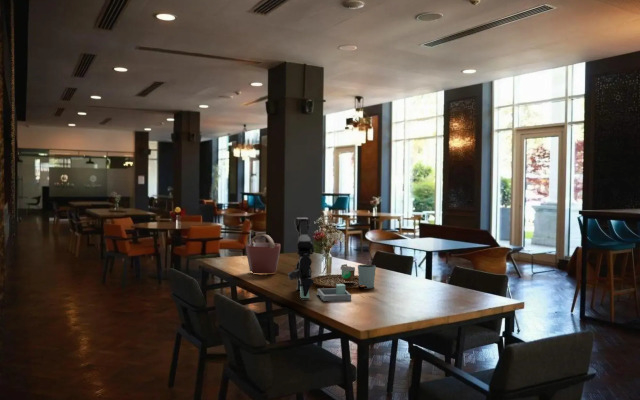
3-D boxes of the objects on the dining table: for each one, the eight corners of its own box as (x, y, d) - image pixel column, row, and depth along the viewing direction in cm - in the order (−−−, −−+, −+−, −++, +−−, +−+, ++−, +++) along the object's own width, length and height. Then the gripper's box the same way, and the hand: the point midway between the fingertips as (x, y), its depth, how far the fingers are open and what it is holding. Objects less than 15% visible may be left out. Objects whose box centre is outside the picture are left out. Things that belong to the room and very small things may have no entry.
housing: (317, 294, 268) (317, 282, 267) (343, 293, 270) (343, 281, 270) (323, 302, 251) (323, 288, 251) (351, 300, 253) (351, 287, 253)
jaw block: (300, 297, 260) (300, 285, 260) (307, 297, 261) (307, 285, 261) (301, 299, 257) (301, 287, 256) (309, 299, 257) (309, 287, 257)
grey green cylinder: (354, 287, 286) (354, 266, 286) (361, 284, 295) (362, 263, 295) (371, 289, 282) (371, 267, 281) (378, 286, 291) (378, 265, 290)
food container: (337, 281, 304) (337, 264, 304) (346, 280, 306) (346, 264, 306) (345, 285, 293) (345, 267, 292) (355, 284, 295) (355, 267, 295)
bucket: (242, 271, 339) (242, 233, 338) (274, 268, 348) (274, 232, 347) (252, 277, 316) (252, 237, 316) (286, 274, 325) (286, 235, 324)
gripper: (286, 262, 266) (286, 292, 267) (291, 268, 248) (291, 300, 248) (307, 261, 268) (307, 291, 269) (313, 267, 250) (313, 299, 250)
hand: (304, 295), depth 259 cm, fingers closed on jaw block, 4 cm apart
